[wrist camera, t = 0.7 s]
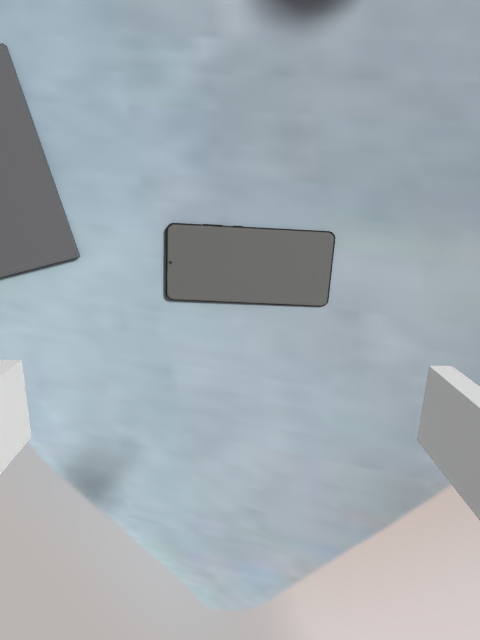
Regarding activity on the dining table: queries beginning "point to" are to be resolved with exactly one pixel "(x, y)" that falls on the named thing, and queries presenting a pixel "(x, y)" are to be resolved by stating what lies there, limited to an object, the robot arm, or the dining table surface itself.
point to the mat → (26, 187)
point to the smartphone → (248, 264)
